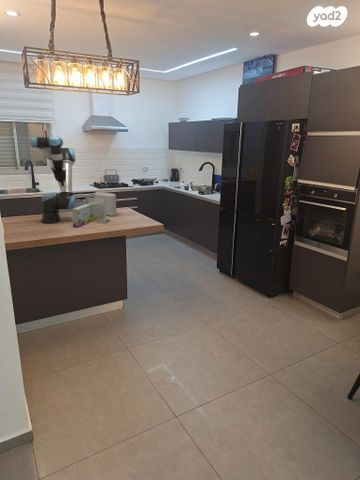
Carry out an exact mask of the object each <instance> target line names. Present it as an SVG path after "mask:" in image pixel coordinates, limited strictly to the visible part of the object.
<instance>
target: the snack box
mask: <svg viewBox="0 0 360 480" xmlns="http://www.w3.org/2000/svg"><path fill="white" fill-rule="evenodd" d="M71 213H72V227H73V228H81V227H83V226H84V225H86V224H89V223H91V222H92V221H91V205H90V204H86V203H85V204H82V205H80V206H79V205H78V206H77V207H76V206H75V208H73V209H71Z"/></svg>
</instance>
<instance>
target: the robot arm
mask: <svg viewBox="0 0 360 480" xmlns="http://www.w3.org/2000/svg"><path fill="white" fill-rule="evenodd" d="M29 141H30V146H31V148H33V149H34V148H35V149H38V151H40V152H41V153H42V155H43V157H45V159H47V160H49V161H51V162H52V163H51V164H52V165H53V167H51V171H52V172H53V175H54V176H53V177H54V179H55V181H57V182H58V186H59V191H60V192H59V195H58V194H57V193H54V192H53V193H47V194H43V195H42V196H41V205H42V206H41V207H42V216H41V217H42V218H41V223H42V224H46V225H47V224H49V225H50V224H57V223H60V222H61V221H62V219H61V218H62V217H60V214H59V210H72V209H73V208H76V205H77V204H76V203H77V196H76V195H75V193H74V192H73V166H74V165H75V163H76V161H77V159H76V155H75V150H74V148H73V147H63V145H64V140H63V138H62V137H60V136H50V137H48V136H47V137H46V136H45V137H43V136H32V137H30V140H29Z"/></svg>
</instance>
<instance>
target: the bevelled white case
mask: <svg viewBox="0 0 360 480" xmlns="http://www.w3.org/2000/svg"><path fill="white" fill-rule="evenodd" d="M93 198H97V199H105V216H107V217H115V216H117V194H116V193H108V192H101V191H97V192H94V193H93Z"/></svg>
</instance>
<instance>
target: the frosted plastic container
mask: <svg viewBox="0 0 360 480" xmlns="http://www.w3.org/2000/svg"><path fill="white" fill-rule="evenodd" d="M85 204H90V205H91V222H94V223H101V224H105V223H108V222H111V219H108V218H106V216H107V215H105V199H97V198H94V197H85Z"/></svg>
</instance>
